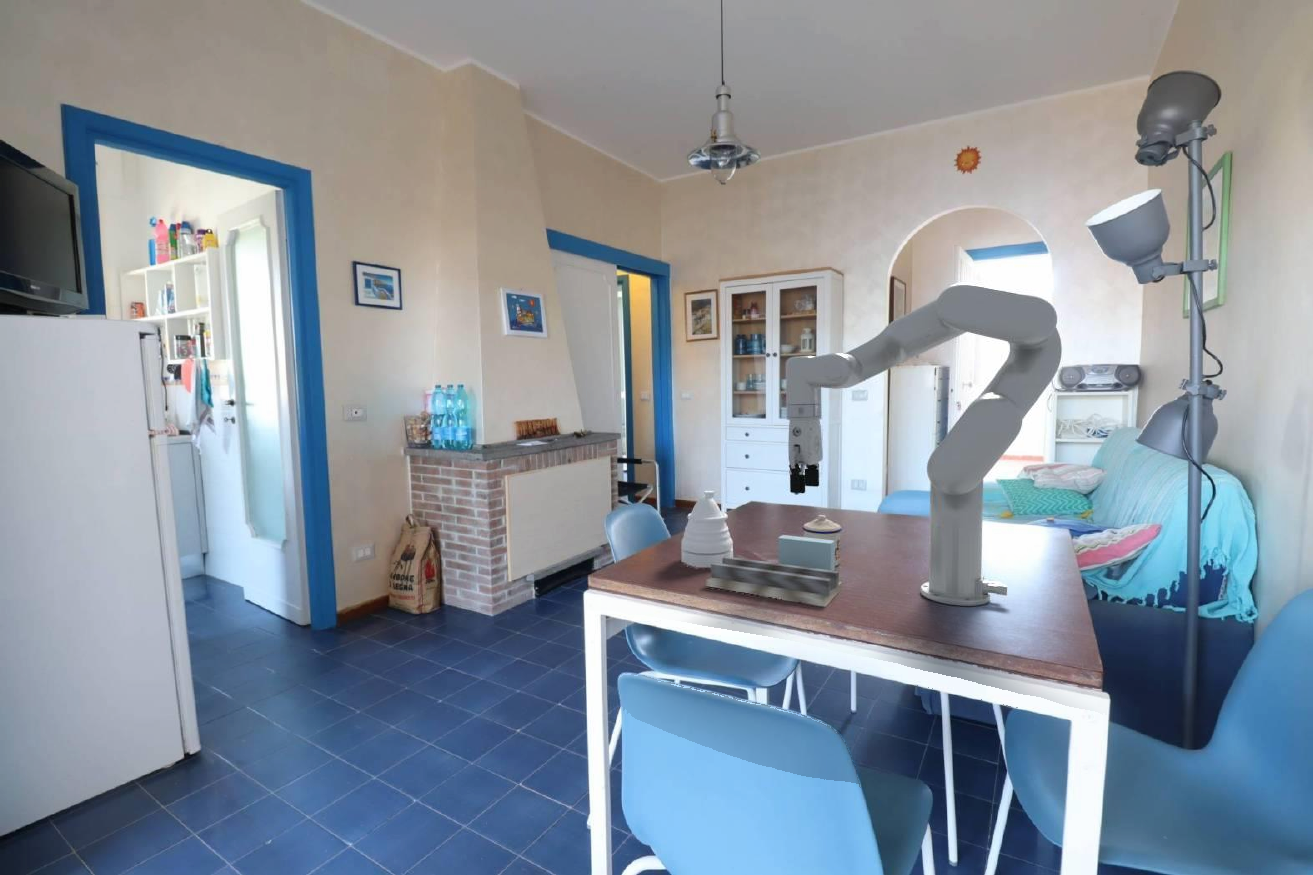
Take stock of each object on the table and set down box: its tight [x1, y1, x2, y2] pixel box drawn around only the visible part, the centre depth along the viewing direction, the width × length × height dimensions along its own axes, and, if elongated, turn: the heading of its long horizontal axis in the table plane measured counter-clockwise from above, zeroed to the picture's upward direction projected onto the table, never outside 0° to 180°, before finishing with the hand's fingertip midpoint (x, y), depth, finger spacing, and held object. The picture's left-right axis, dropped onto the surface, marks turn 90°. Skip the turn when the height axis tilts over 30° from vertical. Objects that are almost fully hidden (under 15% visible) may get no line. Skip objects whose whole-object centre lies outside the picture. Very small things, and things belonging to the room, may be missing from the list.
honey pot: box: [680, 490, 734, 567], centre depth 154 cm, size 13×13×18 cm
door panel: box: [777, 534, 836, 571], centre depth 139 cm, size 12×3×9 cm, turn 58°
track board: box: [705, 556, 843, 608], centre depth 132 cm, size 26×12×4 cm, turn 58°
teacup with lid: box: [802, 514, 842, 567], centre depth 152 cm, size 12×9×12 cm
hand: (805, 489), depth 137 cm, fingers open, 9 cm apart
